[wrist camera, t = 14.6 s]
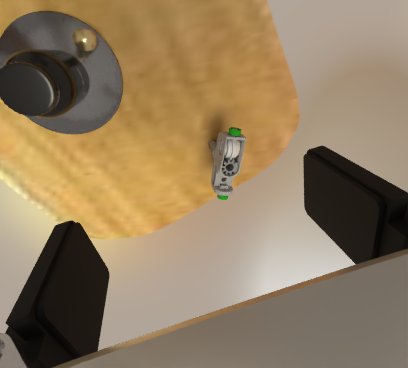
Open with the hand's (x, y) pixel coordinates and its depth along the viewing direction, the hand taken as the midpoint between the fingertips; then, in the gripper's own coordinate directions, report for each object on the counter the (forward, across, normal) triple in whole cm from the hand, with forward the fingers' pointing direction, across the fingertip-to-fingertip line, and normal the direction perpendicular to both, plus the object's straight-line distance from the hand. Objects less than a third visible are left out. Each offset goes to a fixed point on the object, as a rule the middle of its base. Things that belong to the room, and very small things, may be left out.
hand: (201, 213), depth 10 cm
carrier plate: (+31, +12, -5) cm, 34 cm away
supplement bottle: (+31, +12, -5) cm, 34 cm away
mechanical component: (+32, -6, +10) cm, 34 cm away
